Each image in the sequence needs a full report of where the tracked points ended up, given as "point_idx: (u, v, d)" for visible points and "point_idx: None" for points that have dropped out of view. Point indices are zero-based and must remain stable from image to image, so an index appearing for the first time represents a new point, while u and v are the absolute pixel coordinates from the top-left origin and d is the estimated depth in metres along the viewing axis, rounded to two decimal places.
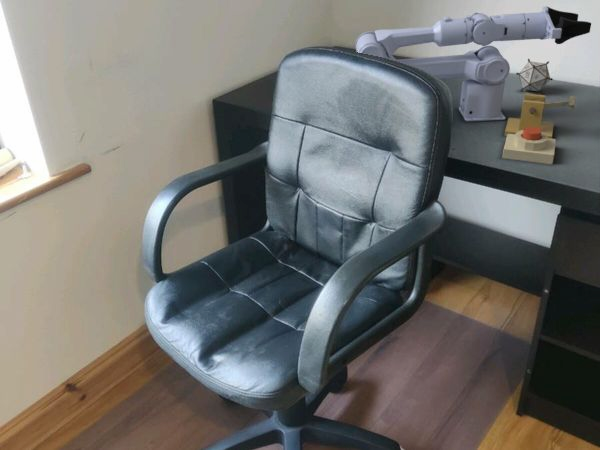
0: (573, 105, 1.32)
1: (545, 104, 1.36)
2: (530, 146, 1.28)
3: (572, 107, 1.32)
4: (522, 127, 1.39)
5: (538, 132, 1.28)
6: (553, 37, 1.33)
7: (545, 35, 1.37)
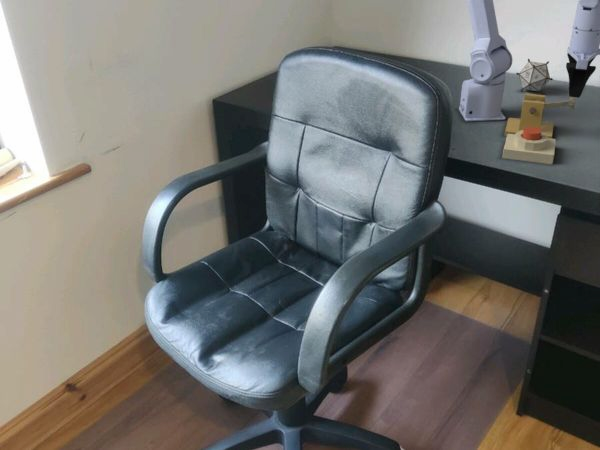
0: (573, 105, 1.32)
1: (545, 104, 1.36)
2: (530, 146, 1.28)
3: (572, 107, 1.32)
4: (522, 127, 1.39)
5: (538, 132, 1.28)
6: (578, 61, 1.23)
7: (575, 53, 1.27)
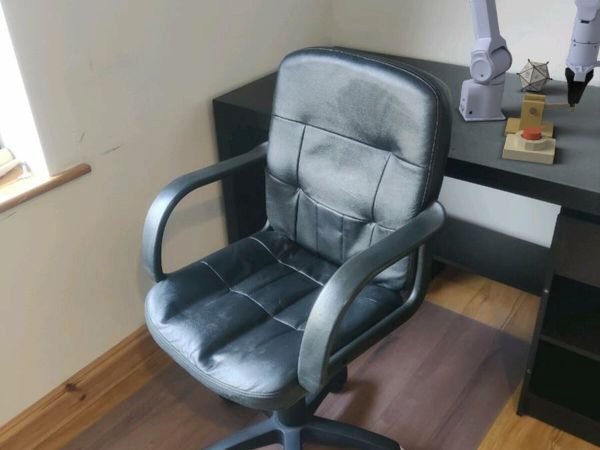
0: (573, 108, 1.32)
1: (545, 105, 1.36)
2: (530, 146, 1.28)
3: (572, 110, 1.33)
4: (522, 127, 1.39)
5: (538, 132, 1.28)
6: (576, 73, 1.24)
7: (573, 65, 1.28)
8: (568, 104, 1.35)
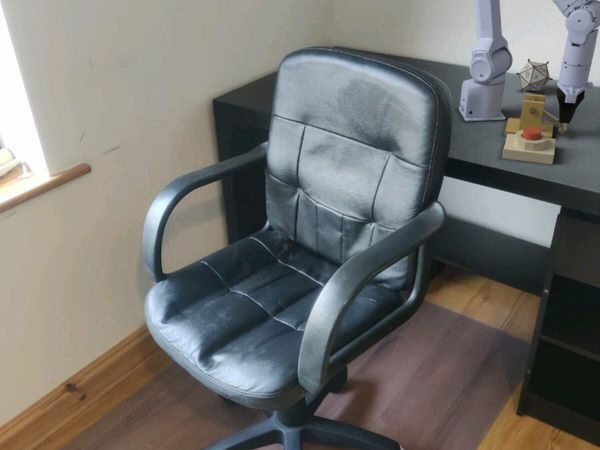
0: (564, 130, 1.36)
1: (543, 112, 1.37)
2: (530, 146, 1.28)
3: (562, 131, 1.36)
4: (522, 127, 1.39)
5: (538, 132, 1.28)
6: (567, 95, 1.27)
7: (564, 86, 1.31)
8: (560, 123, 1.37)
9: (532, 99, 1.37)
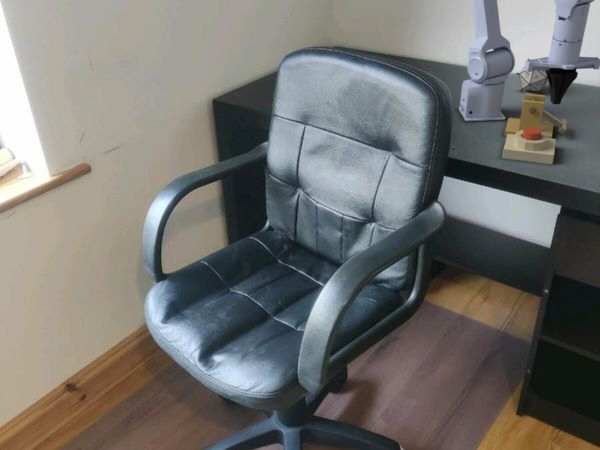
0: (564, 130, 1.36)
1: (543, 112, 1.37)
2: (530, 146, 1.28)
3: (562, 131, 1.36)
4: (522, 127, 1.39)
5: (538, 132, 1.28)
6: (526, 62, 1.27)
7: (547, 59, 1.27)
8: (560, 123, 1.37)
9: (532, 99, 1.37)
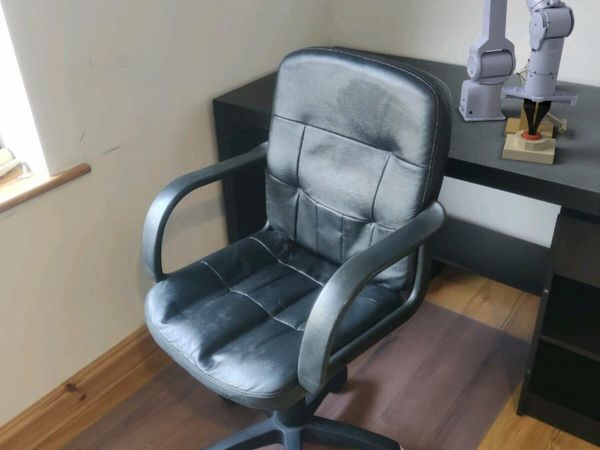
0: (564, 130, 1.36)
1: None
2: (530, 146, 1.28)
3: (562, 131, 1.36)
4: (522, 127, 1.39)
5: (537, 135, 1.29)
6: None
7: None
8: (560, 123, 1.37)
9: None
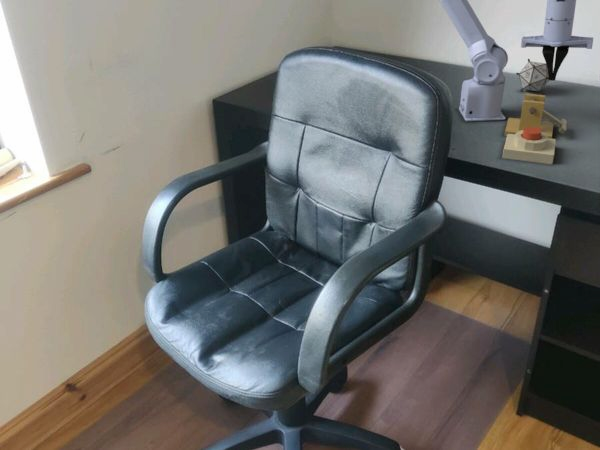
0: (564, 130, 1.36)
1: (543, 112, 1.37)
2: (530, 146, 1.28)
3: (562, 131, 1.36)
4: (522, 127, 1.39)
5: (538, 132, 1.28)
6: None
7: None
8: (560, 123, 1.37)
9: (532, 99, 1.37)
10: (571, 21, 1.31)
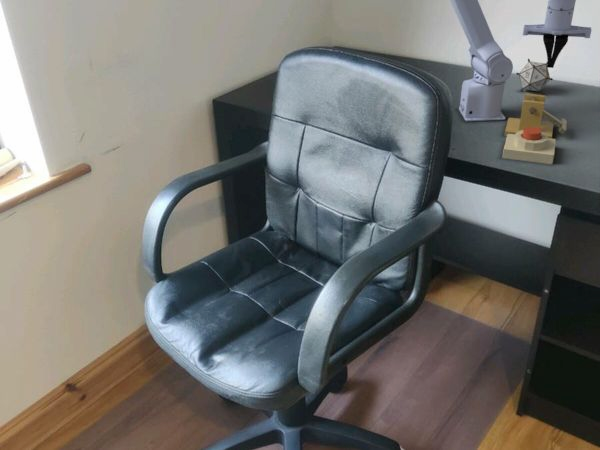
0: (564, 130, 1.36)
1: (543, 112, 1.37)
2: (530, 146, 1.28)
3: (562, 131, 1.36)
4: (522, 127, 1.39)
5: (538, 132, 1.28)
6: None
7: None
8: (560, 123, 1.37)
9: (532, 99, 1.37)
10: (572, 11, 1.38)
